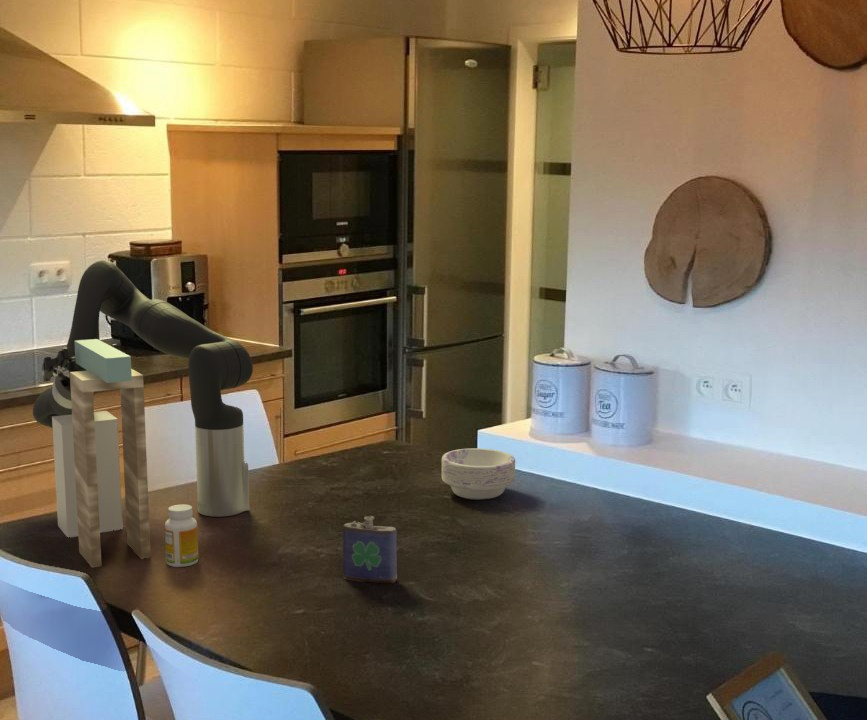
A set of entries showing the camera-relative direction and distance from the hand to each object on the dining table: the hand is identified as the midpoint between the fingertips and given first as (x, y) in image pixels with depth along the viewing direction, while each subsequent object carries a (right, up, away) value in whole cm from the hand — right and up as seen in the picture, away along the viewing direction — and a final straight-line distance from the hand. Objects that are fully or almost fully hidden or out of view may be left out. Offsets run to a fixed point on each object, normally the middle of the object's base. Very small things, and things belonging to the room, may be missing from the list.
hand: (91, 350), depth 199 cm
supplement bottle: (+17, -36, -6) cm, 41 cm away
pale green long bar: (+4, -4, -6) cm, 8 cm away
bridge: (+5, -35, -3) cm, 36 cm away
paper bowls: (+69, -30, +35) cm, 83 cm away
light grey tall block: (-4, -33, +12) cm, 35 cm away
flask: (+50, -38, -14) cm, 64 cm away
